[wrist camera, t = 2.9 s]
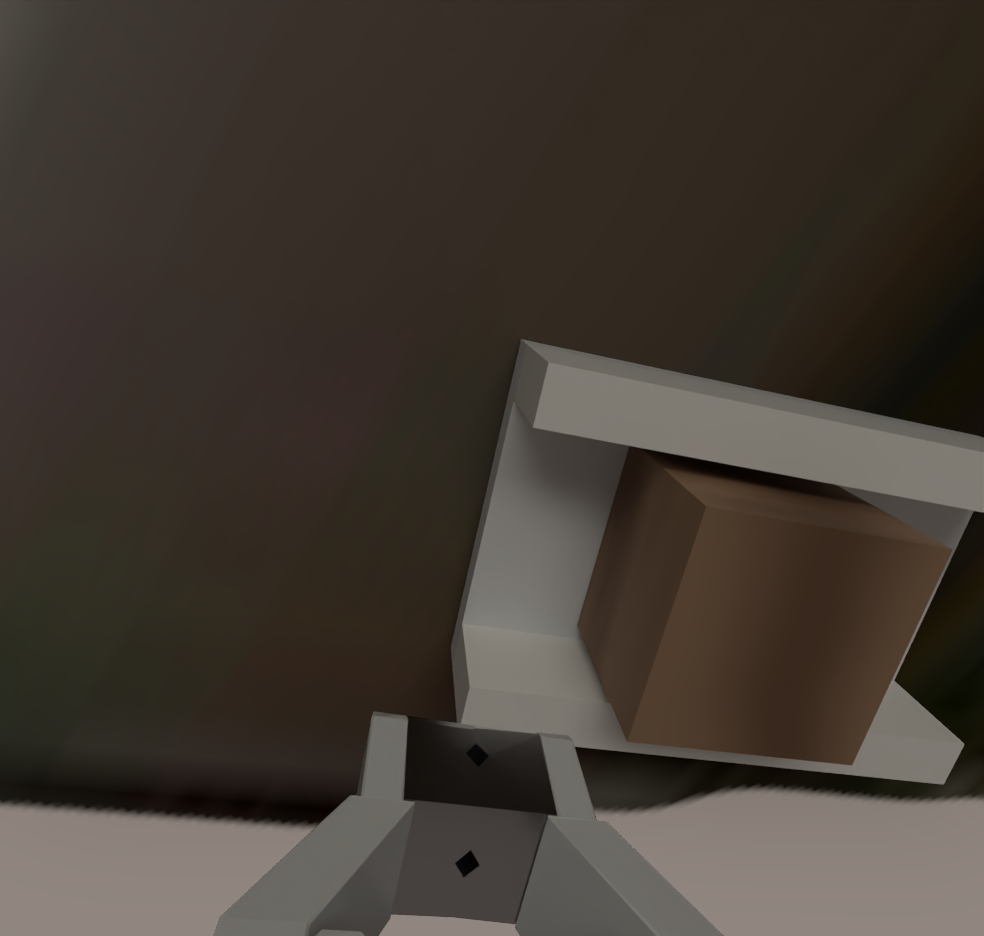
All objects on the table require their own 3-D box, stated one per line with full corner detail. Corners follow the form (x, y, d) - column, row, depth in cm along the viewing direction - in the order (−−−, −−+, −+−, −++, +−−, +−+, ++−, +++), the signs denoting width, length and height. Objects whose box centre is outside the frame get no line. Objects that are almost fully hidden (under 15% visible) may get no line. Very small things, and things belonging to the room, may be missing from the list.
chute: (451, 647, 21) (457, 734, 17) (521, 339, 18) (548, 362, 14) (858, 698, 23) (943, 784, 20) (977, 435, 20) (1104, 477, 17)
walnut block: (577, 625, 20) (626, 741, 15) (631, 440, 18) (705, 506, 13) (753, 649, 21) (851, 765, 16) (820, 476, 19) (952, 549, 14)
